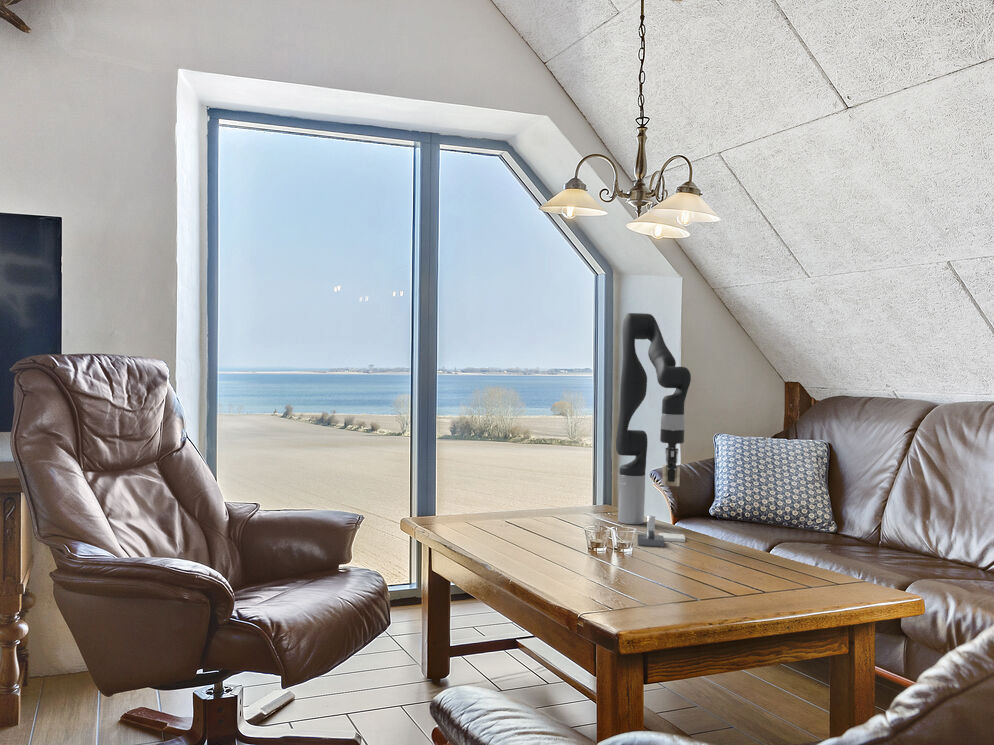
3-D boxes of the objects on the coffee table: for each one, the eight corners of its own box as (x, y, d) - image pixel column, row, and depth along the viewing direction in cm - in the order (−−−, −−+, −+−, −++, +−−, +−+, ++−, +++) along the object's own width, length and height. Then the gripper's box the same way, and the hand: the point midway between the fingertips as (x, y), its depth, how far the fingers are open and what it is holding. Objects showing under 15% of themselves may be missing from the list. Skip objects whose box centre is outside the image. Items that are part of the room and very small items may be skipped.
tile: (658, 535, 272) (658, 532, 272) (683, 537, 270) (683, 534, 270) (659, 540, 264) (659, 537, 264) (685, 542, 262) (685, 538, 262)
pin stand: (637, 540, 263) (638, 513, 263) (662, 541, 262) (663, 515, 262) (637, 545, 255) (638, 517, 255) (663, 546, 254) (664, 519, 254)
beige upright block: (662, 483, 270) (662, 464, 270) (678, 484, 269) (679, 465, 269) (662, 485, 265) (663, 466, 264) (679, 486, 264) (679, 467, 264)
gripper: (660, 426, 274) (658, 477, 274) (661, 429, 260) (659, 482, 260) (683, 427, 273) (681, 478, 273) (685, 430, 259) (683, 484, 259)
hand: (670, 480), depth 267 cm, fingers closed on beige upright block, 5 cm apart
